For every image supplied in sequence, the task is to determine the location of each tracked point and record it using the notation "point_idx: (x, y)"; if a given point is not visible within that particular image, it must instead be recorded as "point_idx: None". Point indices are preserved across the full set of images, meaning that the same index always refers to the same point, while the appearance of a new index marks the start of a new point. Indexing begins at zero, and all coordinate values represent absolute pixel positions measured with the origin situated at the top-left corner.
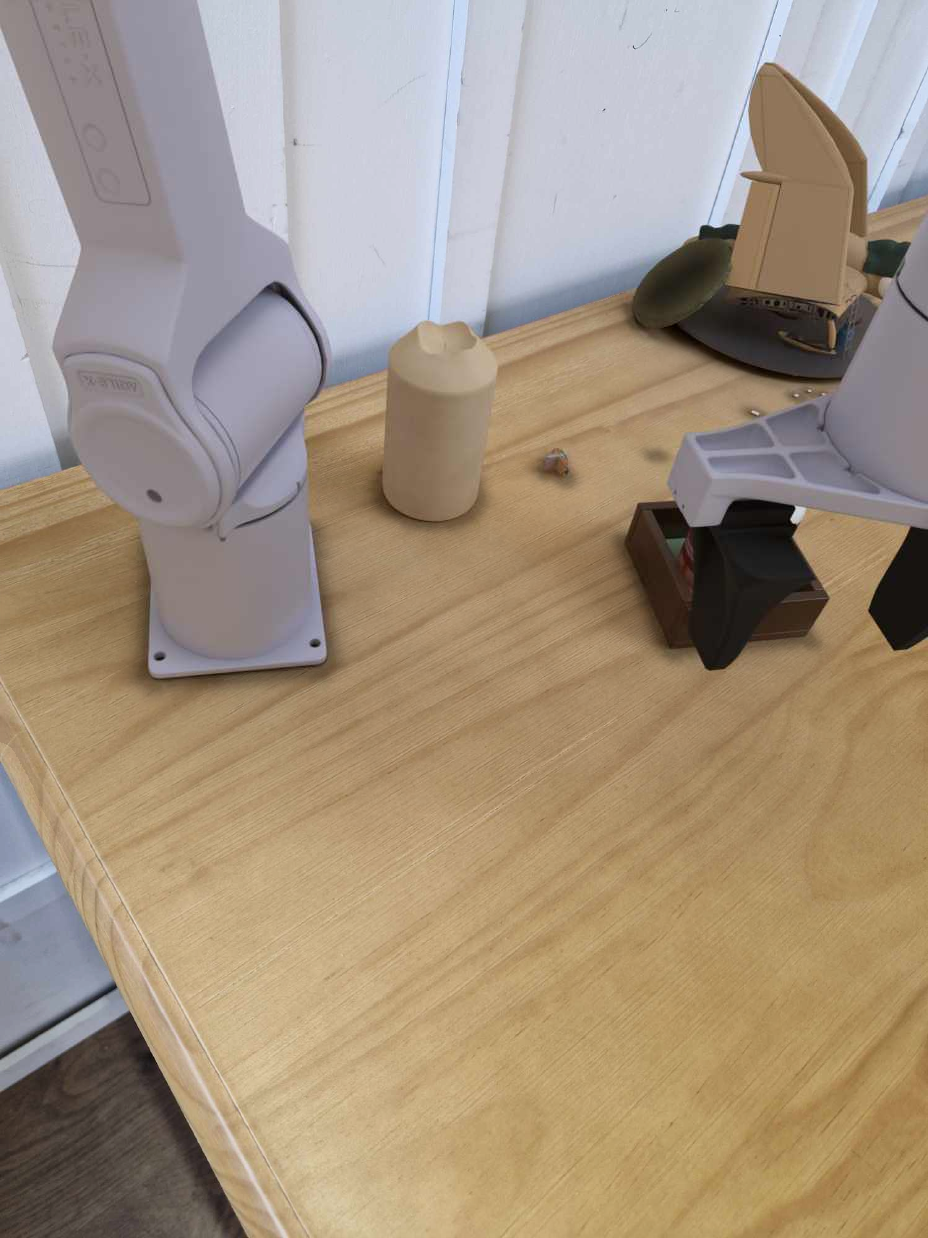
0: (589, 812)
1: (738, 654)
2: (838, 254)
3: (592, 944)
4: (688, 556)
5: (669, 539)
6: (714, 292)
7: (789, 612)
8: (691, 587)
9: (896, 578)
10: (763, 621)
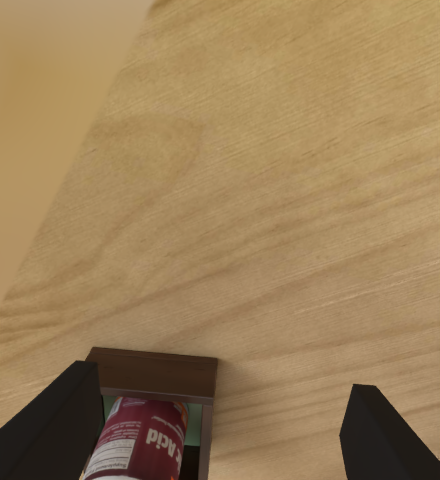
0: (360, 242)
1: (372, 414)
2: None
3: (423, 132)
4: (184, 439)
5: None
6: None
7: (111, 375)
8: (184, 407)
9: (69, 478)
10: (136, 370)
